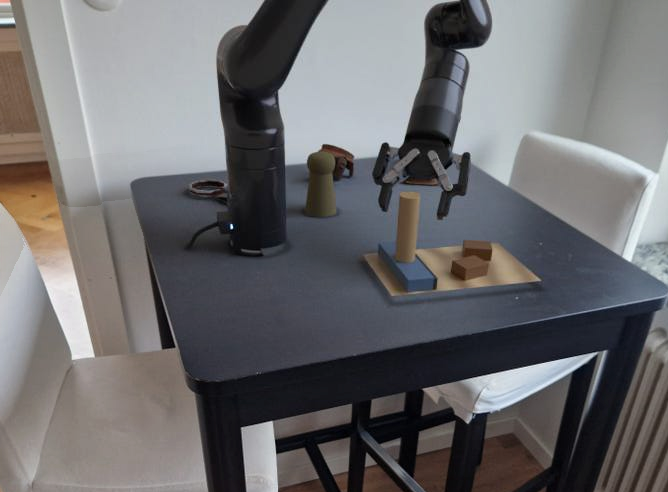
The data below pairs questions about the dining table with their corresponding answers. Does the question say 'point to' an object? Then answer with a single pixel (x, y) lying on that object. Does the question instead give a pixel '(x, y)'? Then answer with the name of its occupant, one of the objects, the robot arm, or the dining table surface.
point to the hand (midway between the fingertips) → (411, 213)
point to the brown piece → (339, 161)
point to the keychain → (218, 194)
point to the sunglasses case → (420, 181)
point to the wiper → (407, 248)
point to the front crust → (469, 267)
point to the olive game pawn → (320, 185)
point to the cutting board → (440, 262)
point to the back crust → (477, 249)
